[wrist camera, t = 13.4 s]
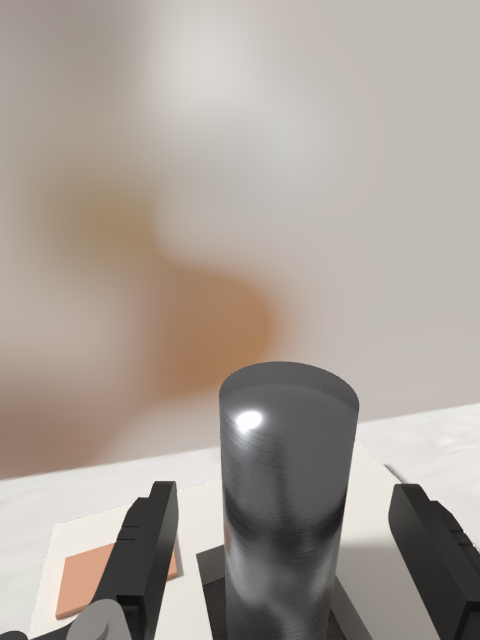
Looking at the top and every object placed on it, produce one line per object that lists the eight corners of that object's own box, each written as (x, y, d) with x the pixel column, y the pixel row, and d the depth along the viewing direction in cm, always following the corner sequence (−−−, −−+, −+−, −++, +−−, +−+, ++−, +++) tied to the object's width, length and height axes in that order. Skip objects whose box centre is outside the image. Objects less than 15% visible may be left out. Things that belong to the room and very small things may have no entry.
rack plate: (-100, 1410, 5) (-176, 1457, 4) (62, 557, 18) (52, 521, 17) (608, 751, 11) (641, 710, 10) (354, 466, 24) (358, 437, 23)
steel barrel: (208, 666, 13) (191, 411, 9) (250, 567, 17) (252, 353, 13) (310, 738, 11) (348, 461, 7) (331, 609, 15) (365, 376, 11)
